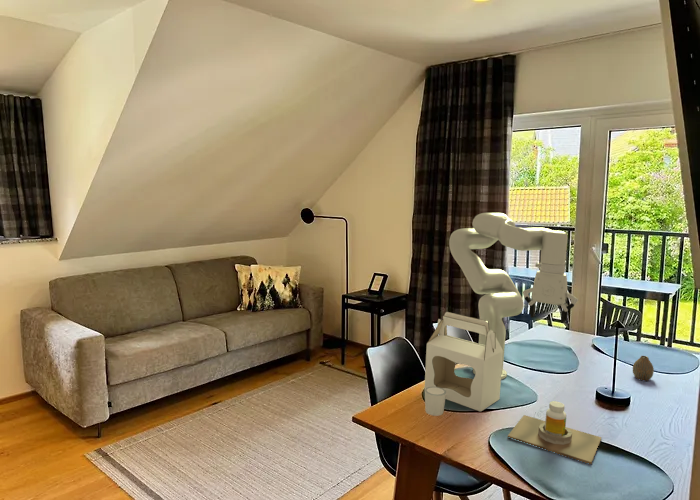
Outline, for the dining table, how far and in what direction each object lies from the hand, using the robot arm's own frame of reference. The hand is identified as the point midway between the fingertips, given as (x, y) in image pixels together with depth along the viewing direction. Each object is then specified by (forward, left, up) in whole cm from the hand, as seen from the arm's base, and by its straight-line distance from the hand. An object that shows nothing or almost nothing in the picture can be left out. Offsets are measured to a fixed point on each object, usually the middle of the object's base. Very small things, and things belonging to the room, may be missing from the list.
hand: (547, 319), depth 164 cm
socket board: (+10, -24, -28) cm, 38 cm away
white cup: (-25, -30, -28) cm, 48 cm away
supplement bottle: (+10, -24, -28) cm, 38 cm away
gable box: (-23, -13, -29) cm, 39 cm away
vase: (+26, +45, -28) cm, 59 cm away
